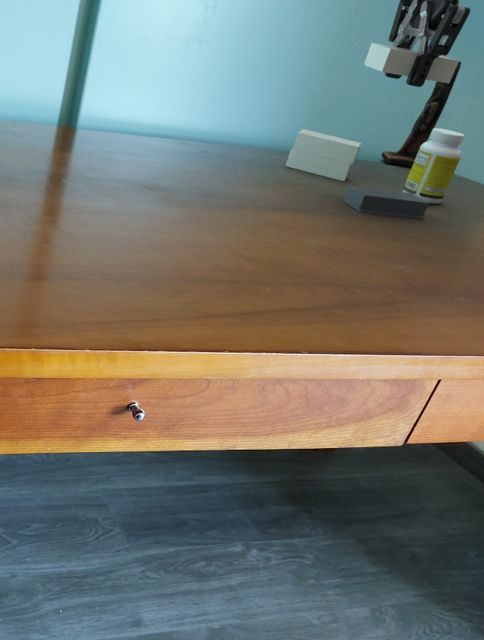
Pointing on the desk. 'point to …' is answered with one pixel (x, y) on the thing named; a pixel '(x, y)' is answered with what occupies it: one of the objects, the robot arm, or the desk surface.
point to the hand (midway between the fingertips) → (402, 81)
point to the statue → (422, 125)
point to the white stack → (323, 154)
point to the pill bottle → (434, 166)
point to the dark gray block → (386, 202)
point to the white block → (407, 62)
